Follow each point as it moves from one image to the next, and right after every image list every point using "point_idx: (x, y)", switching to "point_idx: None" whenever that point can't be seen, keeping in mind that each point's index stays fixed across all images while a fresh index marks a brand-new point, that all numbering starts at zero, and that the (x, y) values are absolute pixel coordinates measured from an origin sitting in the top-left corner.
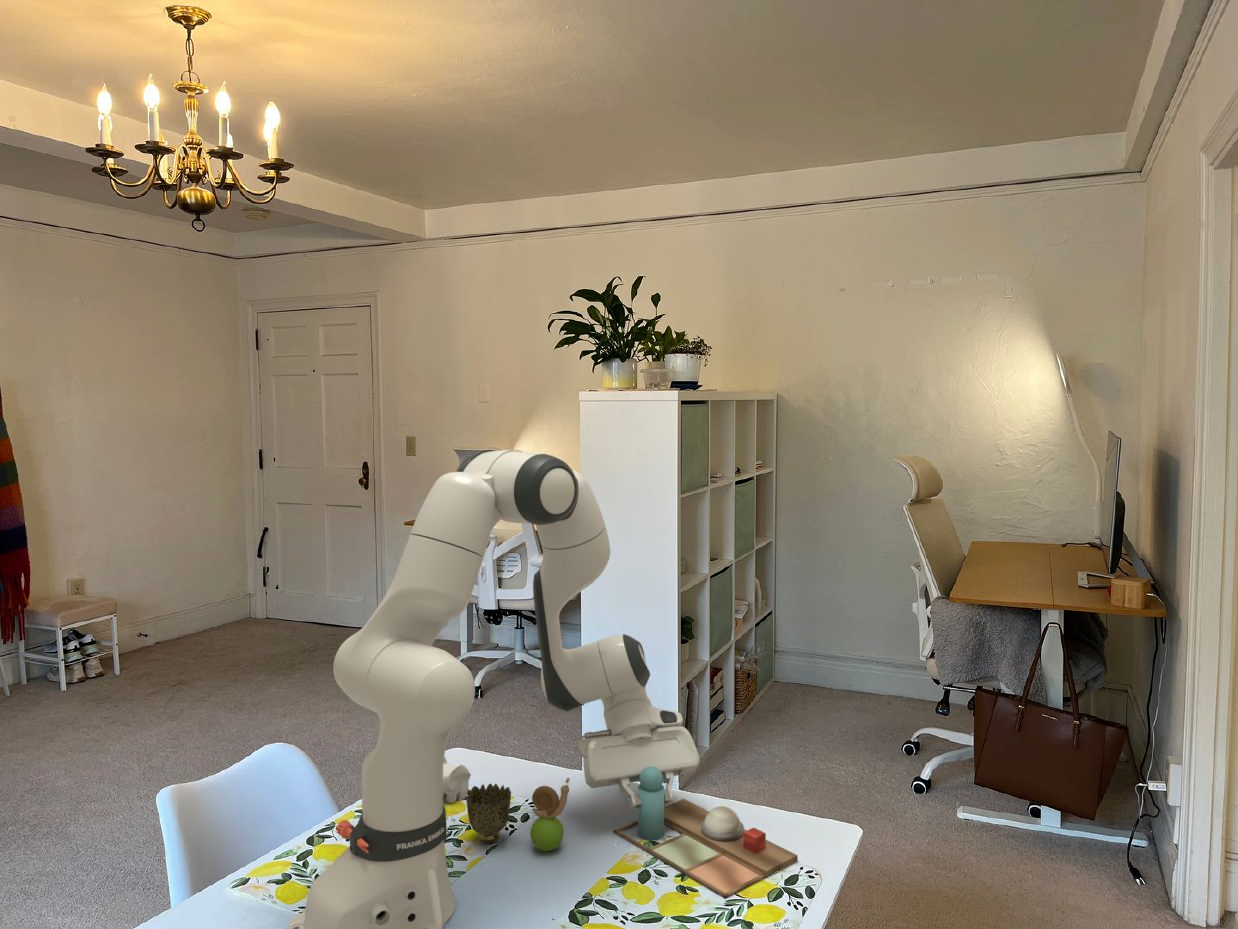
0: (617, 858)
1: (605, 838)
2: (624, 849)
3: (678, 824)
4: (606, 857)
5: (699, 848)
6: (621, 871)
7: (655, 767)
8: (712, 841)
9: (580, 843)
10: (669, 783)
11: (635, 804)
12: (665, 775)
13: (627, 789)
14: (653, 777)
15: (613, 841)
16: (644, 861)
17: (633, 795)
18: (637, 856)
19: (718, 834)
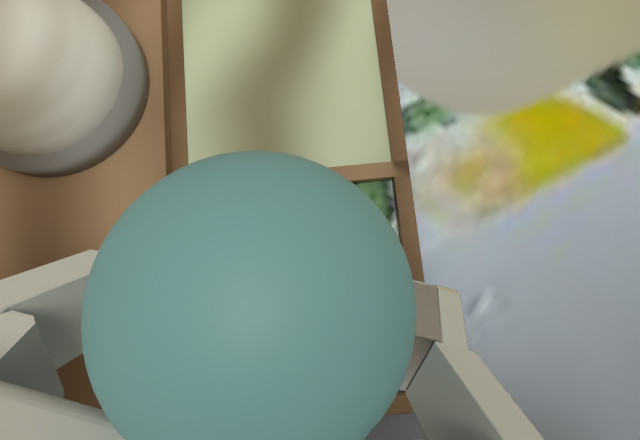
0: (536, 203)
1: (496, 378)
2: (473, 247)
3: None
4: (572, 234)
5: (219, 69)
6: (570, 115)
7: (134, 298)
8: (154, 48)
9: (621, 405)
10: (63, 280)
11: (438, 287)
12: (9, 361)
13: (504, 400)
14: (310, 169)
15: (478, 333)
16: (453, 125)
17: (445, 337)
18: (456, 171)
19: (114, 25)
